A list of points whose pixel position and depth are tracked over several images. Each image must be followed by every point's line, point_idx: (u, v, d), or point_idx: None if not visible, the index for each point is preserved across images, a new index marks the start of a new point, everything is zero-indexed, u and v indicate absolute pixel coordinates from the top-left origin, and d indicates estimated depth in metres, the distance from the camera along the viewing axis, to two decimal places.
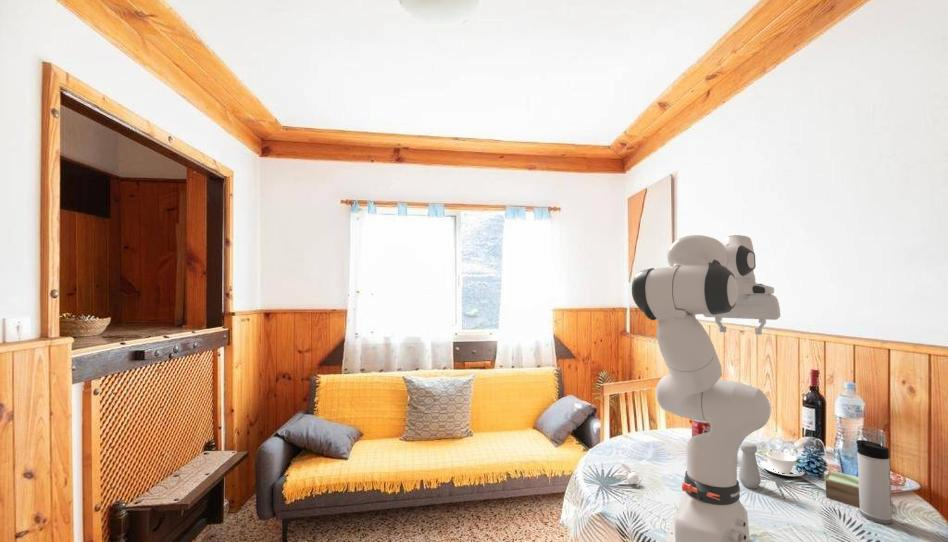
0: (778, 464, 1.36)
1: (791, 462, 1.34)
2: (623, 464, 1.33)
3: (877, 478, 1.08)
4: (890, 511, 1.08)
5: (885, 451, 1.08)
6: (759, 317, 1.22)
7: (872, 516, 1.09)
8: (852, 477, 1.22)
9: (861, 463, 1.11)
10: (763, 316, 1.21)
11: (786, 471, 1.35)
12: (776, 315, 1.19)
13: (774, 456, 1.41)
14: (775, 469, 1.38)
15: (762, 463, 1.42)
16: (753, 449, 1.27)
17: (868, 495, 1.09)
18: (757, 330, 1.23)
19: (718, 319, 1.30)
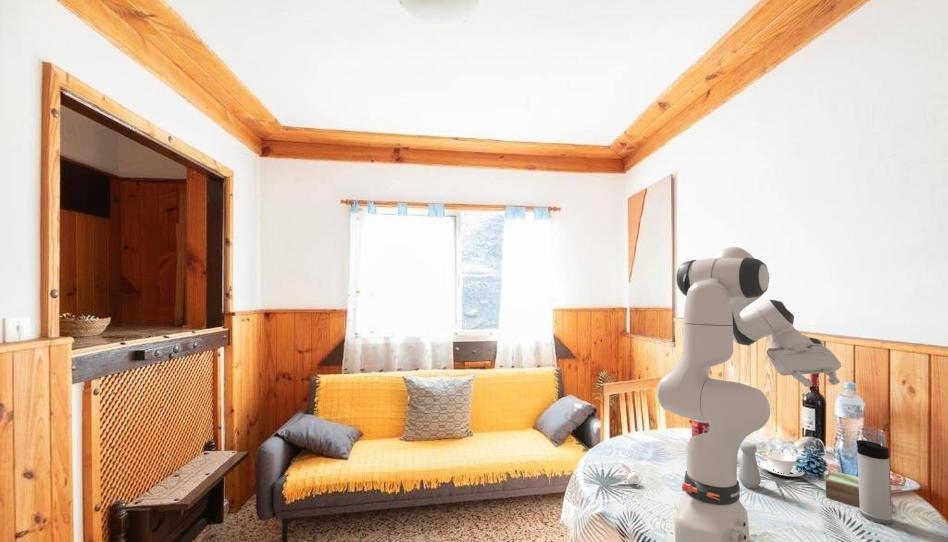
0: (778, 464, 1.36)
1: (791, 462, 1.34)
2: (623, 464, 1.33)
3: (877, 478, 1.08)
4: (890, 511, 1.08)
5: (885, 451, 1.08)
6: (830, 365, 1.27)
7: (872, 516, 1.09)
8: (852, 477, 1.22)
9: (861, 463, 1.11)
10: (832, 364, 1.28)
11: (786, 471, 1.35)
12: (839, 362, 1.28)
13: (774, 456, 1.41)
14: (775, 469, 1.38)
15: (762, 463, 1.42)
16: (752, 449, 1.27)
17: (868, 495, 1.09)
18: (835, 378, 1.25)
19: (799, 372, 1.25)
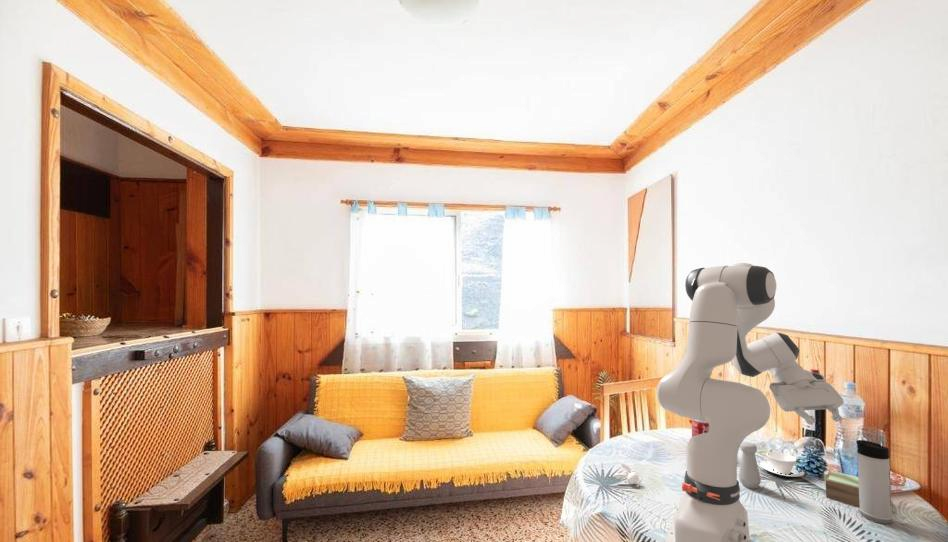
0: (778, 464, 1.36)
1: (791, 462, 1.34)
2: (623, 464, 1.33)
3: (877, 478, 1.08)
4: (890, 511, 1.08)
5: (885, 451, 1.08)
6: (832, 402, 1.27)
7: (872, 516, 1.09)
8: (852, 477, 1.22)
9: (861, 463, 1.11)
10: (834, 401, 1.27)
11: (786, 471, 1.35)
12: (842, 399, 1.28)
13: (774, 456, 1.41)
14: (775, 469, 1.37)
15: (762, 463, 1.41)
16: (753, 449, 1.27)
17: (868, 495, 1.09)
18: (838, 415, 1.24)
19: (802, 408, 1.25)
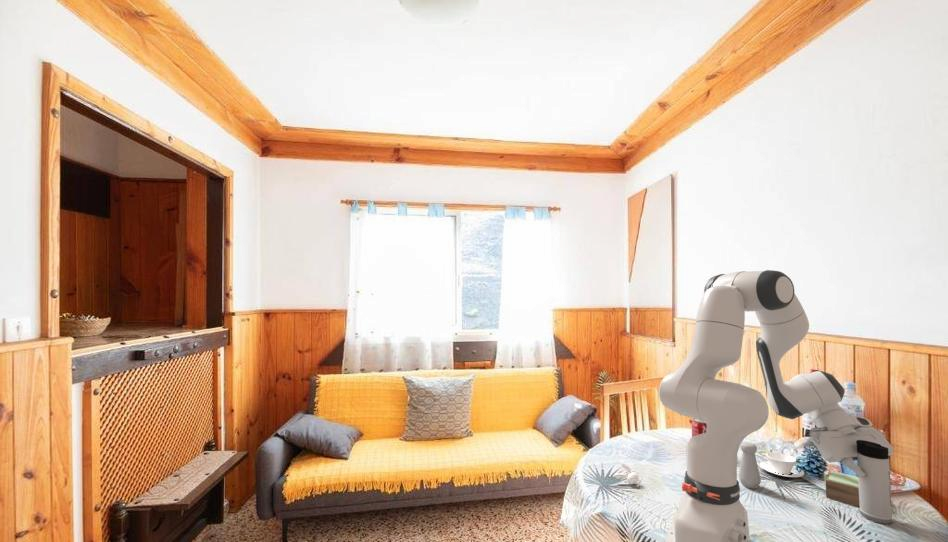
0: (778, 465, 1.35)
1: (791, 463, 1.34)
2: (623, 464, 1.33)
3: (877, 478, 1.08)
4: (890, 511, 1.08)
5: (885, 451, 1.08)
6: None
7: (872, 516, 1.09)
8: (852, 477, 1.22)
9: (861, 463, 1.11)
10: None
11: (786, 472, 1.35)
12: (892, 448, 1.15)
13: (774, 457, 1.41)
14: (775, 470, 1.37)
15: (762, 464, 1.41)
16: (753, 449, 1.27)
17: (868, 495, 1.09)
18: None
19: (852, 459, 1.12)
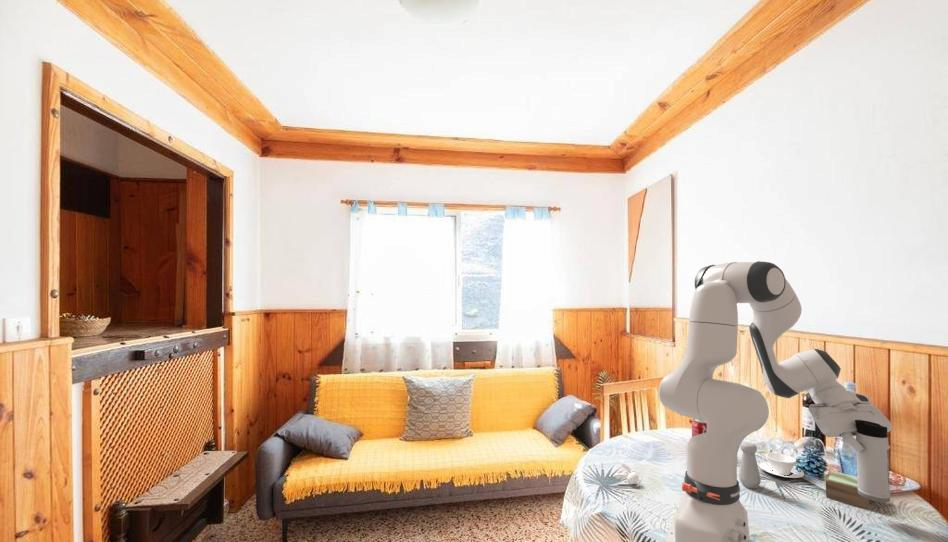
0: (777, 465, 1.35)
1: (790, 463, 1.33)
2: (623, 464, 1.33)
3: (875, 456, 1.08)
4: (888, 490, 1.07)
5: (883, 429, 1.08)
6: None
7: (869, 495, 1.09)
8: (852, 477, 1.22)
9: (859, 441, 1.11)
10: None
11: (785, 472, 1.34)
12: (891, 424, 1.15)
13: (773, 457, 1.40)
14: (774, 470, 1.37)
15: (761, 464, 1.41)
16: (752, 449, 1.27)
17: (866, 473, 1.09)
18: None
19: (850, 434, 1.12)
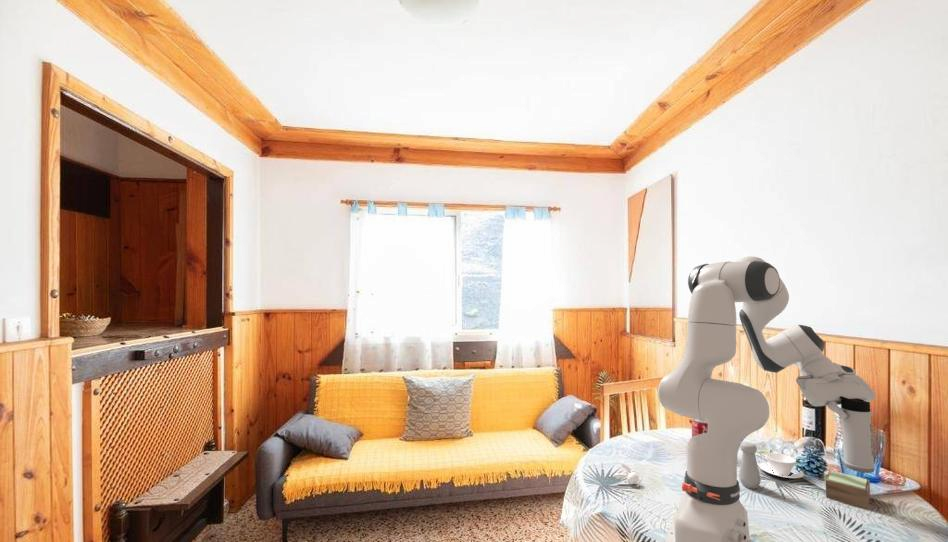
0: (777, 466, 1.35)
1: (790, 464, 1.33)
2: (623, 464, 1.33)
3: (859, 429, 1.15)
4: (871, 461, 1.14)
5: (866, 404, 1.15)
6: (864, 396, 1.20)
7: (855, 466, 1.15)
8: (852, 477, 1.22)
9: None
10: (866, 394, 1.21)
11: (785, 473, 1.34)
12: None
13: (773, 458, 1.40)
14: (774, 471, 1.36)
15: (761, 465, 1.40)
16: (752, 449, 1.27)
17: (851, 446, 1.16)
18: None
19: (835, 403, 1.18)
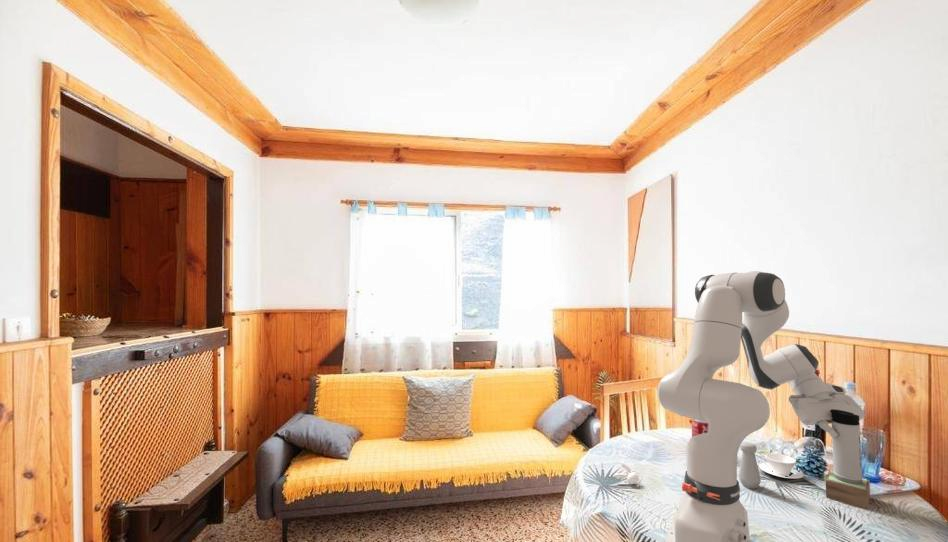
0: (777, 466, 1.34)
1: (790, 464, 1.33)
2: (623, 464, 1.33)
3: (848, 442, 1.19)
4: (860, 472, 1.18)
5: (855, 418, 1.19)
6: None
7: (843, 477, 1.19)
8: None
9: (834, 429, 1.22)
10: (856, 414, 1.25)
11: (785, 473, 1.34)
12: (863, 412, 1.26)
13: (773, 458, 1.40)
14: (774, 471, 1.36)
15: (761, 465, 1.40)
16: (752, 449, 1.27)
17: (840, 458, 1.20)
18: None
19: (826, 422, 1.22)
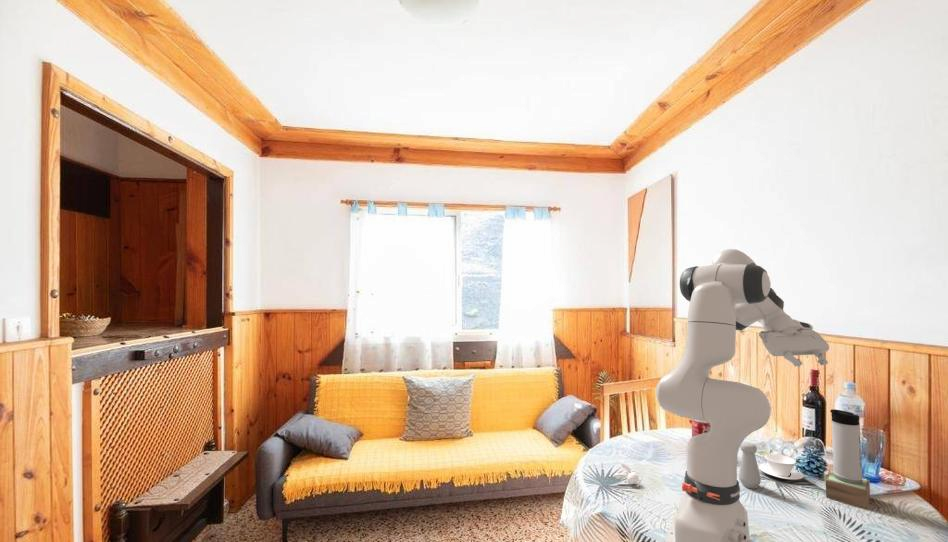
0: (777, 467, 1.34)
1: (790, 465, 1.32)
2: (623, 464, 1.33)
3: (848, 442, 1.19)
4: (860, 472, 1.18)
5: (855, 418, 1.19)
6: (818, 347, 1.34)
7: (843, 477, 1.19)
8: None
9: (834, 429, 1.22)
10: (820, 346, 1.34)
11: (785, 474, 1.33)
12: (828, 345, 1.35)
13: (773, 459, 1.39)
14: (774, 472, 1.35)
15: (760, 466, 1.40)
16: (752, 449, 1.27)
17: (840, 458, 1.20)
18: (823, 359, 1.31)
19: (790, 352, 1.32)
